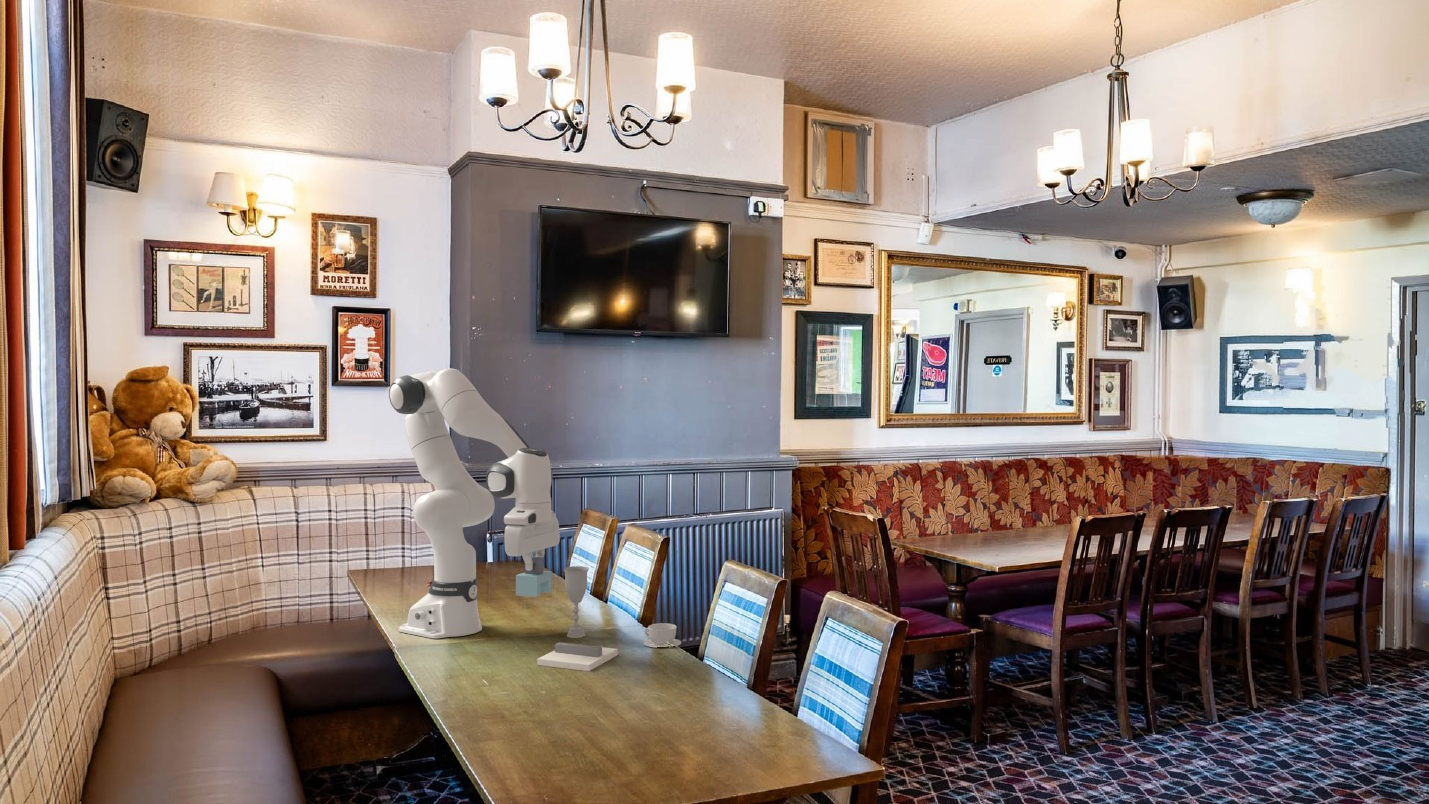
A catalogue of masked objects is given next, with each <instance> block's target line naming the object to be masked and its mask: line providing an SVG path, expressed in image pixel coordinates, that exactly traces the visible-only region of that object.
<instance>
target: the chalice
mask: <svg viewBox="0 0 1429 804" xmlns="http://www.w3.org/2000/svg"><path fill="white" fill-rule="evenodd" d="M589 569H590V568H589V566H582V565H581V566H580V565H577V566H576V565H574V566H568V567H567V566H566V567H564V568H563V571H564V577H565V579H564V587H565V591H566V594H567V595H568V598H569V600H570V602H571V603H572V604H573V605H574V608H573V610H572V611H573V613H574V615H573V617H572V618H573V622H574V623H573V625H572V626H570V627H569V629H568V631H567V634H566V638H570V639H571V638H572V639H581V638H584V637H585V636H586V634H585V631H584V628H583V627H582V626H581V625H579V619H580V616H579V615H578V614H579V612H580V610H579V606H578V605H579V603H581V602H582V601H583V600H584V599H583V598H584V596H585V595H586V591H587V588H588V572H589ZM583 636H584V637H583Z"/></svg>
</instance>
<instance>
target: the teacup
mask: <svg viewBox="0 0 1429 804" xmlns="http://www.w3.org/2000/svg"><path fill="white" fill-rule="evenodd" d="M644 635H645V636H646V637H648V638H649V639H646V640H643V642H642V644H643V645H644V646H646V647H650V648H655V649H656V648H657V647H660V646H655V645H650V644H653V643H654V644H657V645H664V644H667V642H666V641H668V642H669V643H670V644H673V645H674V646H675V647H678V646H680V645H682V641H681V640H679V639H676V635H677V625H676V624H673V623H667V622H666V623H664V622H661V623H654V624H649V625H648V627H646V628H645V629H644ZM652 642H653V643H652ZM670 644H668V645H670ZM670 646H671V645H670ZM671 648H674V647H673V646H672V647H671Z"/></svg>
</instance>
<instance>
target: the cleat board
mask: <svg viewBox="0 0 1429 804" xmlns="http://www.w3.org/2000/svg"><path fill="white" fill-rule="evenodd" d="M618 655H619V651H618V648H614V647H613V648H611V647H605V646H604V647H603V646H595V645H586V644H578V643H577V644H576V643H568V642H557V643H555V644H554V650H552V651H550V652H549V653H546V654H545V655H542V656H540V657H538V658H537V659H536V662H537V664H536V665H537V666H543V667H551V668H559V669H568V670H575V671H584V672H590V671H592V670H594V669H596V668H597V667H600V666H602V665H603V664H604V663H606V662H608V661H610V660H611V659H614V658H615V657H617V656H618Z"/></svg>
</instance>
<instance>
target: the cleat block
mask: <svg viewBox="0 0 1429 804" xmlns="http://www.w3.org/2000/svg"><path fill="white" fill-rule="evenodd" d="M532 561H533V563H535V566H534V567H535V569H534V570H531V571H527V570H526V568H525V567H524V572H522V573H519V574H516V575H515V596H519V597H520V596H521V597H531V598H539V597H540V596H541V593H546V594H547V593H548V594H550V593H552V592H553V573H552V572H553V571H548V570H547V571H545V570H544V557H535V556H533V557H532Z"/></svg>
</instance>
